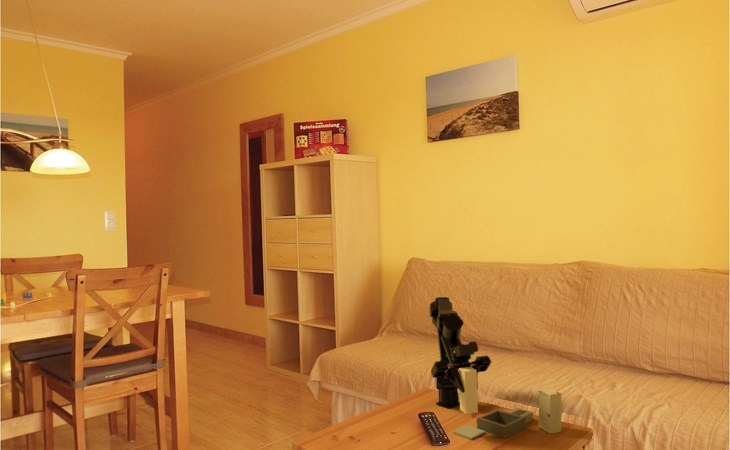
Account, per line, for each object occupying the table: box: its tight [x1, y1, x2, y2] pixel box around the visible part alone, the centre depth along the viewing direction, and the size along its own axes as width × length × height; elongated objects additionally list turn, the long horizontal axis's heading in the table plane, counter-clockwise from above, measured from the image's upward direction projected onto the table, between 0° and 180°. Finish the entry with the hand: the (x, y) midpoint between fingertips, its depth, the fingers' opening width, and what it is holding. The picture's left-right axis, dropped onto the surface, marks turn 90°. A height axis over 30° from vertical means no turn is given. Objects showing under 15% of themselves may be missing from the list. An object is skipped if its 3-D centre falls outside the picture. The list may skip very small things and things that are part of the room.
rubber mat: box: [452, 424, 487, 440], centre depth 168 cm, size 7×7×1 cm
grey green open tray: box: [476, 407, 534, 440], centre depth 173 cm, size 10×18×4 cm, turn 130°
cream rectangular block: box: [458, 367, 479, 415], centre depth 168 cm, size 4×4×13 cm
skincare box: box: [538, 387, 562, 434], centre depth 168 cm, size 6×4×12 cm
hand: (470, 391), depth 166 cm, fingers closed on cream rectangular block, 4 cm apart
